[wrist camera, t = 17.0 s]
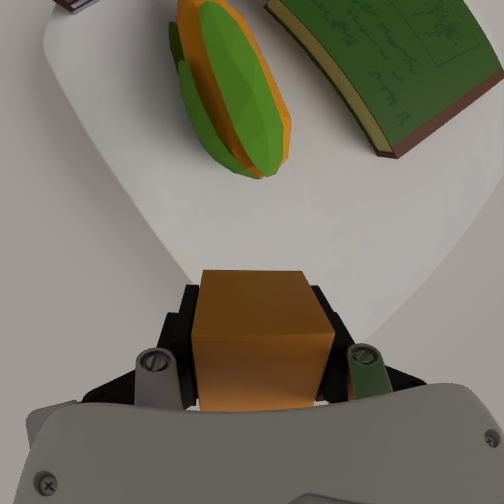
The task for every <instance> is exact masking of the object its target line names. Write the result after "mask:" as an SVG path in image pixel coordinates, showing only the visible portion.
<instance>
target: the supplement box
mask: <svg viewBox="0 0 504 504" xmlns="http://www.w3.org/2000/svg"><path fill="white" fill-rule="evenodd" d="M53 1H55V2H56V3H58V4H59V5H61V6H62V7H64V8H65V9H67V10H69V11H70V12H72V13H73V14H76V13H78V12H79V11H81V10H83V9H85V8H86V7H88V6H90V5H92V4H93V3H95V2H97V1H99V0H53Z"/></svg>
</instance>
